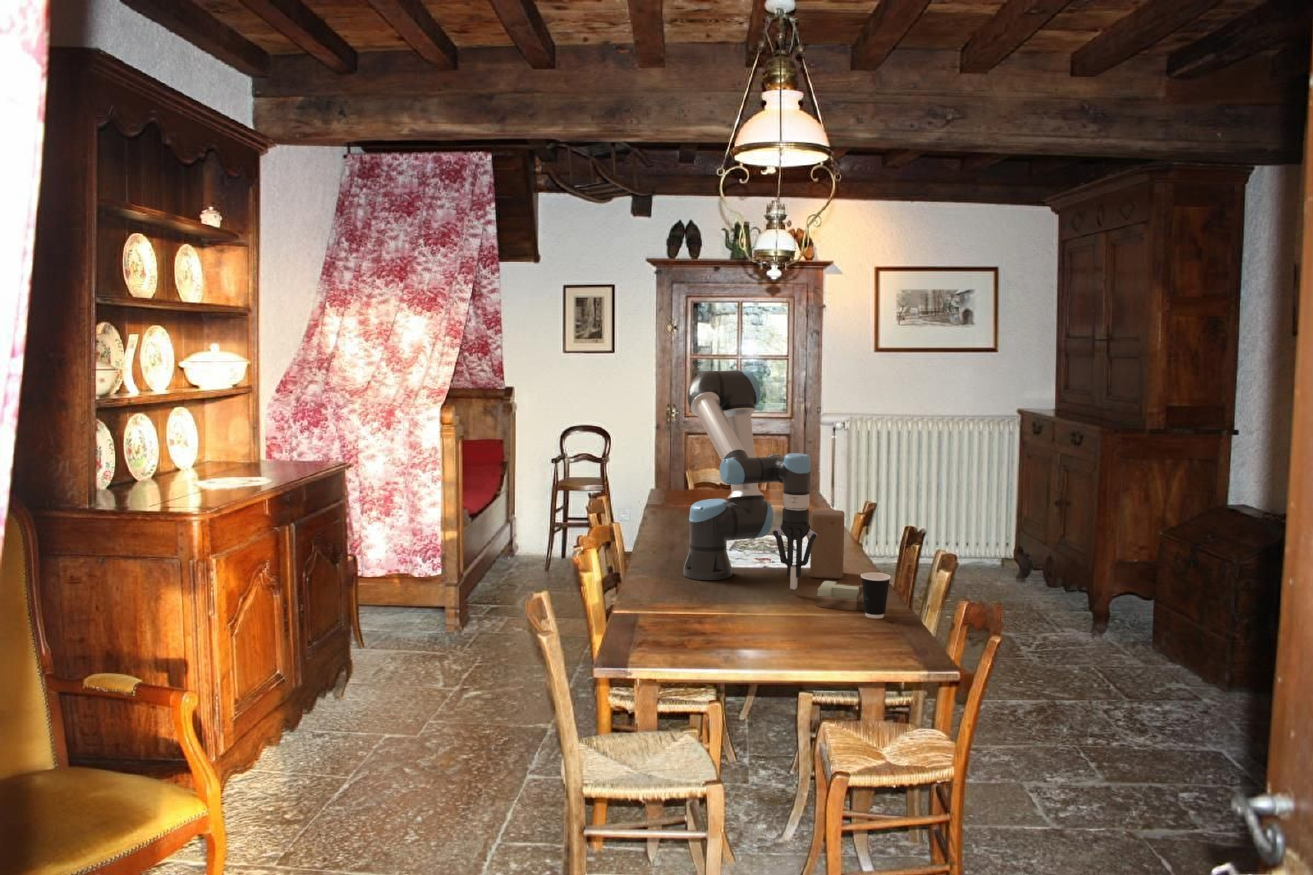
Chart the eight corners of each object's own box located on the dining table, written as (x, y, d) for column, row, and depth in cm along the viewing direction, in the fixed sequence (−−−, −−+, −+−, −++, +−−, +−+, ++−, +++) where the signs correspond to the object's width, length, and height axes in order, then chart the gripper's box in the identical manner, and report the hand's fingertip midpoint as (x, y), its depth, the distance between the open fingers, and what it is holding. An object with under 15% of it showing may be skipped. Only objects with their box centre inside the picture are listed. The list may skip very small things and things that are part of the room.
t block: (817, 602, 281) (817, 589, 281) (824, 594, 291) (824, 580, 290) (855, 606, 278) (855, 592, 277) (860, 597, 287) (860, 583, 287)
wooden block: (842, 579, 307) (844, 515, 305) (809, 578, 309) (811, 514, 307) (843, 572, 317) (844, 510, 315) (811, 570, 319) (812, 508, 317)
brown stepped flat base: (816, 606, 277) (816, 597, 277) (828, 590, 294) (828, 582, 294) (863, 611, 273) (864, 602, 273) (873, 594, 290) (873, 586, 289)
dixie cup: (853, 615, 269) (854, 575, 267) (870, 610, 274) (871, 570, 273) (878, 621, 263) (879, 580, 262) (895, 616, 268) (896, 575, 267)
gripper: (770, 508, 285) (768, 588, 287) (816, 511, 280) (813, 593, 283) (776, 503, 292) (774, 582, 295) (821, 507, 287) (818, 586, 290)
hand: (793, 587), depth 289 cm, fingers closed
